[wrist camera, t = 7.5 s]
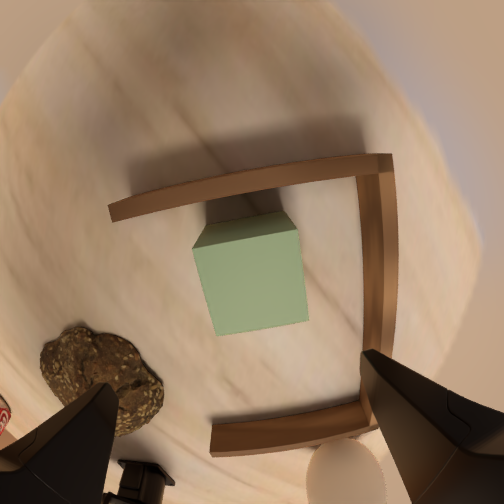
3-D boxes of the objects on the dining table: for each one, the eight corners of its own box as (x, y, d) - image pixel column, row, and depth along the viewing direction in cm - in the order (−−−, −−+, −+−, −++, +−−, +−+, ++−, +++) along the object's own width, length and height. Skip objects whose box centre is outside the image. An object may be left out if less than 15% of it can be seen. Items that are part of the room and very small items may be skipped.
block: (294, 282, 19) (309, 320, 15) (222, 294, 20) (216, 336, 15) (283, 210, 18) (297, 229, 13) (206, 225, 18) (192, 249, 13)
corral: (367, 403, 24) (378, 428, 20) (214, 430, 24) (212, 457, 21) (366, 153, 17) (391, 153, 13) (131, 196, 17) (107, 205, 14)
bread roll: (115, 428, 25) (102, 459, 20) (35, 353, 22) (12, 380, 17) (194, 398, 23) (186, 440, 18) (95, 298, 20) (65, 331, 15)
